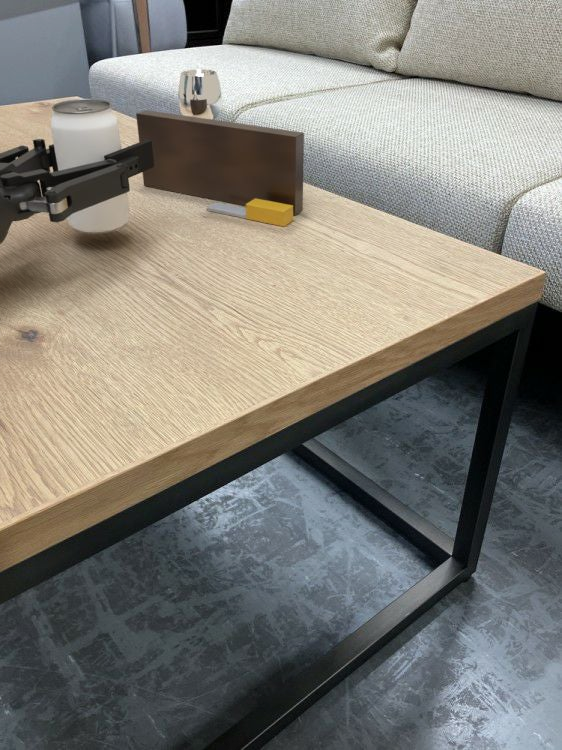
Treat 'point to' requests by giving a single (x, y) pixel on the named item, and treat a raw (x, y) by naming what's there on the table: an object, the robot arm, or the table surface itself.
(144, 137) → the backboard
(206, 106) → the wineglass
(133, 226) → the table surface
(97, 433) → the table surface
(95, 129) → the can
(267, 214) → the knife
